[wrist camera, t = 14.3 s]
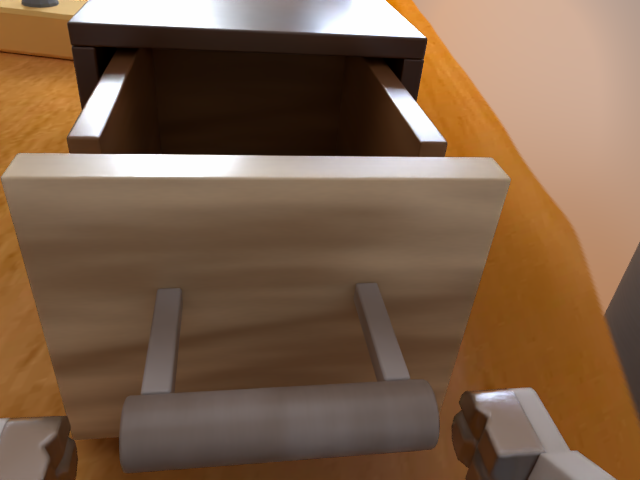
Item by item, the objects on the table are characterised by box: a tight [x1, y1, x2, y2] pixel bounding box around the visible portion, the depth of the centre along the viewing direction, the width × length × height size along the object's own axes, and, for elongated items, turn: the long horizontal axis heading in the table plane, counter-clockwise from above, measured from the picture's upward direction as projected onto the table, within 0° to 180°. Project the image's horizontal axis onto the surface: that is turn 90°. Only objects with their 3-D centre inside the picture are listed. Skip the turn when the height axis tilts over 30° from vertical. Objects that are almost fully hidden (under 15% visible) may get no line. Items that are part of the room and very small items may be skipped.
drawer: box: [1, 48, 511, 473], centre depth 19 cm, size 19×11×9 cm, turn 8°
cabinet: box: [67, 0, 427, 110], centre depth 29 cm, size 16×13×11 cm
